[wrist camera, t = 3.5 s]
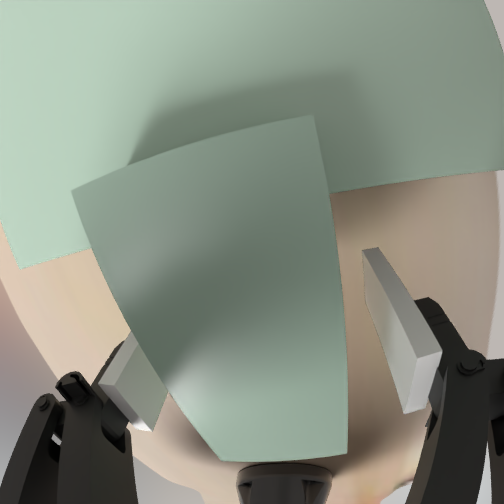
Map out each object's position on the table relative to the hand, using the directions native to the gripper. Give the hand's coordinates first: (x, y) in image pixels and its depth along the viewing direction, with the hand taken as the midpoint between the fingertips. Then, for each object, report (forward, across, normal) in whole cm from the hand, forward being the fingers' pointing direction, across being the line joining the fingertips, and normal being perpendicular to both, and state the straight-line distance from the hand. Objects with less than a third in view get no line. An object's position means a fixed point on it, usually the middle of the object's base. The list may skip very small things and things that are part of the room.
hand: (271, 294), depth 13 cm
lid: (-1, 0, -10) cm, 10 cm away
